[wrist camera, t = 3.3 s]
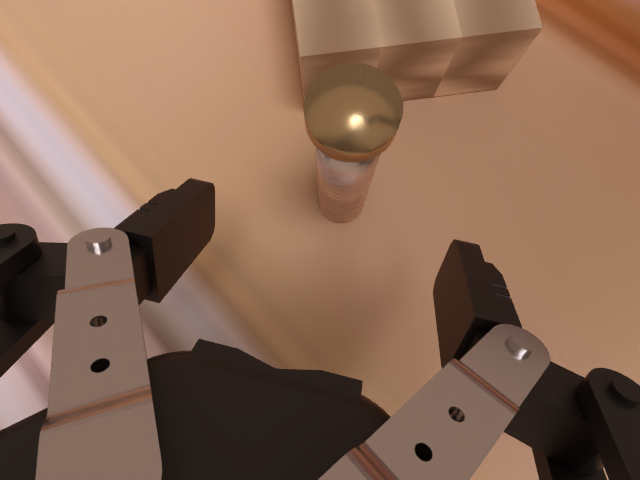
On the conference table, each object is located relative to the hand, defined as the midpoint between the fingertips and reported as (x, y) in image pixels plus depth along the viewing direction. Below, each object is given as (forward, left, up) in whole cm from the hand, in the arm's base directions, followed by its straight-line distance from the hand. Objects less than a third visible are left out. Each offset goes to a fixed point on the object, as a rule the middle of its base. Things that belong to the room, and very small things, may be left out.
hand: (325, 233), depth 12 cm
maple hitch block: (-6, -16, -9) cm, 19 cm away
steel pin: (-1, -4, -9) cm, 10 cm away
